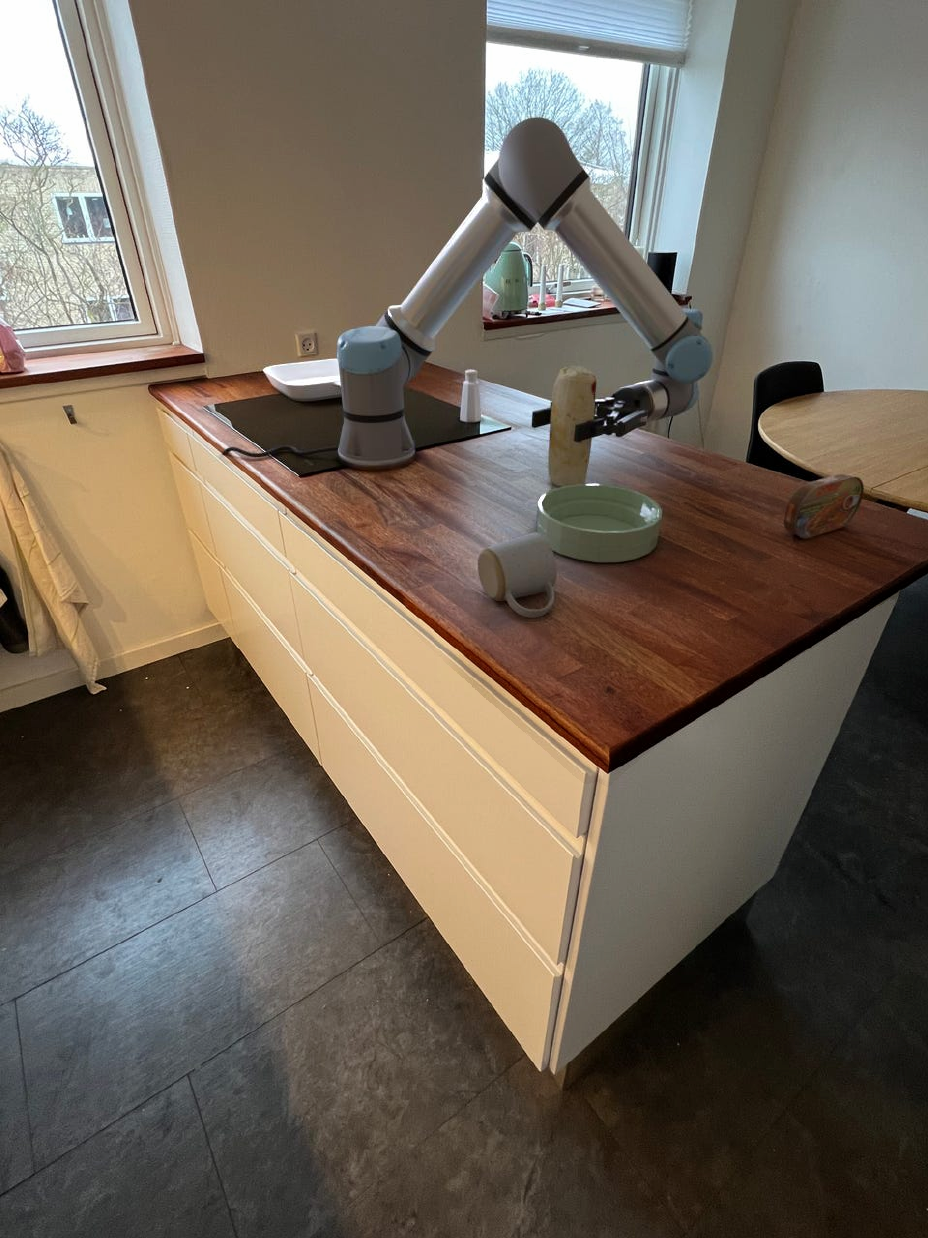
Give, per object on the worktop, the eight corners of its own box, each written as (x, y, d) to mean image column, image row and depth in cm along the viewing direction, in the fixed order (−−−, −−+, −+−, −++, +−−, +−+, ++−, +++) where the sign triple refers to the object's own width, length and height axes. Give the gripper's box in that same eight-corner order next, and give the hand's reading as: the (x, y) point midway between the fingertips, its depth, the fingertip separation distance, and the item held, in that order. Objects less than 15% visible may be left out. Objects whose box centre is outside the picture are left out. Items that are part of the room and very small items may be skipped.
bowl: (569, 573, 88) (572, 540, 85) (517, 521, 102) (519, 491, 99) (680, 553, 93) (687, 522, 90) (616, 506, 107) (620, 478, 104)
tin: (790, 543, 95) (807, 490, 91) (773, 535, 98) (788, 483, 93) (855, 524, 101) (873, 474, 97) (837, 517, 104) (854, 467, 99)
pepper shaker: (455, 421, 149) (455, 371, 143) (464, 415, 153) (464, 367, 147) (477, 423, 147) (477, 374, 141) (485, 417, 152) (486, 369, 145)
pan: (349, 373, 191) (347, 356, 188) (415, 405, 161) (414, 386, 158) (260, 384, 179) (257, 366, 176) (313, 420, 149) (311, 400, 146)
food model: (596, 488, 114) (609, 371, 103) (563, 494, 111) (574, 375, 101) (568, 471, 121) (577, 360, 110) (537, 476, 119) (544, 363, 108)
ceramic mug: (473, 586, 84) (474, 534, 80) (526, 573, 87) (529, 522, 83) (513, 628, 76) (516, 573, 72) (569, 611, 80) (576, 558, 75)
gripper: (682, 438, 115) (601, 465, 103) (590, 412, 129) (509, 432, 117) (691, 396, 111) (607, 418, 99) (594, 373, 125) (511, 391, 113)
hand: (554, 426), depth 108 cm, fingers closed on food model, 9 cm apart
